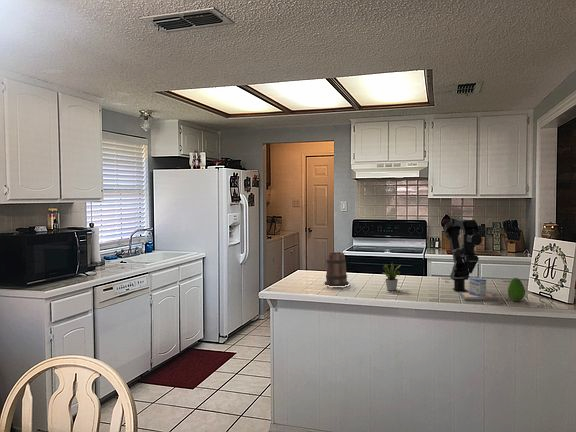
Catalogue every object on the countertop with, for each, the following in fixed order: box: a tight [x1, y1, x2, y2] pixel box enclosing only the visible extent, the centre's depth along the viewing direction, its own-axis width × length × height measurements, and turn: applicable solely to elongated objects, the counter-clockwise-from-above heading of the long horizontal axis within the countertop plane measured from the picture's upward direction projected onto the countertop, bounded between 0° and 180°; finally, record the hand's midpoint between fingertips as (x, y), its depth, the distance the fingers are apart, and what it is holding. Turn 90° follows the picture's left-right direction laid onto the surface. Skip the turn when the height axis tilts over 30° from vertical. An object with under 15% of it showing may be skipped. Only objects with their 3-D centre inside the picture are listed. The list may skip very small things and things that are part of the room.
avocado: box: [507, 277, 526, 302], centre depth 246 cm, size 8×8×12 cm
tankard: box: [323, 251, 350, 286], centre depth 304 cm, size 24×17×20 cm
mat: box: [458, 291, 499, 302], centre depth 257 cm, size 16×16×1 cm
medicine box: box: [468, 277, 487, 297], centre depth 257 cm, size 8×4×9 cm, turn 24°
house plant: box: [378, 261, 401, 292], centre depth 282 cm, size 14×14×16 cm
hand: (468, 271), depth 263 cm, fingers open, 9 cm apart
